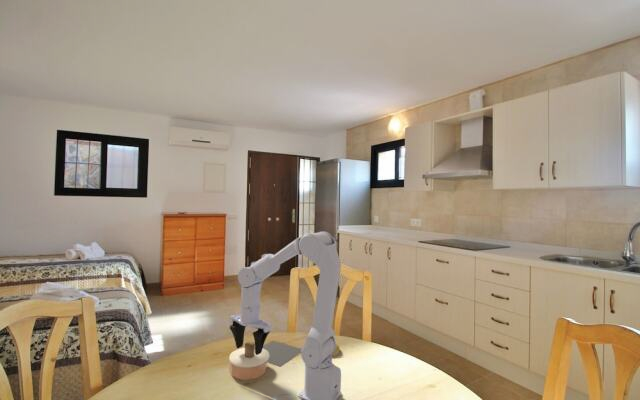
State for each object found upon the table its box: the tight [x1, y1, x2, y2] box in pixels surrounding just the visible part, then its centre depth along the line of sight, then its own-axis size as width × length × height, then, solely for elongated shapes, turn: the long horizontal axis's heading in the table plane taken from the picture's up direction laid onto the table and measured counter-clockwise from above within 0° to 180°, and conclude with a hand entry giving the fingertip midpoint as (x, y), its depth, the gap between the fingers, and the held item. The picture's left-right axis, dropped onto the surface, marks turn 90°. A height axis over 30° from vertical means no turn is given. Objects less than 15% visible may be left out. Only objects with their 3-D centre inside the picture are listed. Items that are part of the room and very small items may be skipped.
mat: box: [263, 340, 302, 368], centre depth 112 cm, size 14×14×1 cm
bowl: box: [228, 361, 268, 381], centre depth 100 cm, size 11×11×4 cm
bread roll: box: [332, 343, 341, 357], centre depth 114 cm, size 8×9×4 cm
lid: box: [228, 341, 269, 367], centre depth 100 cm, size 12×12×4 cm
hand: (248, 350), depth 100 cm, fingers open, 7 cm apart
